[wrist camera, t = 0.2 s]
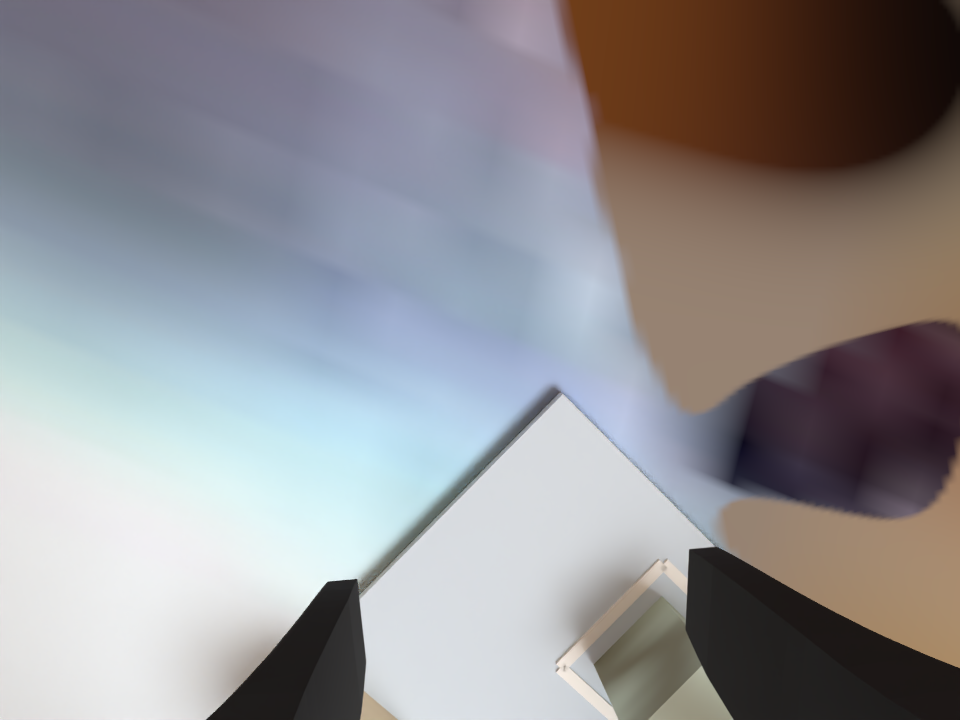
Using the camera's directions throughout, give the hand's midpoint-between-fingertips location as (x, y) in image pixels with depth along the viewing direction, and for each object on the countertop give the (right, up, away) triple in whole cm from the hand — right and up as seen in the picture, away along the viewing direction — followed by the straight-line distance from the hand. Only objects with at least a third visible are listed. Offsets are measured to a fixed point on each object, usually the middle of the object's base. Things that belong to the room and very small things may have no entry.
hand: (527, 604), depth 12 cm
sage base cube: (+7, -7, +11) cm, 15 cm away
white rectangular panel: (+1, -9, +11) cm, 14 cm away
